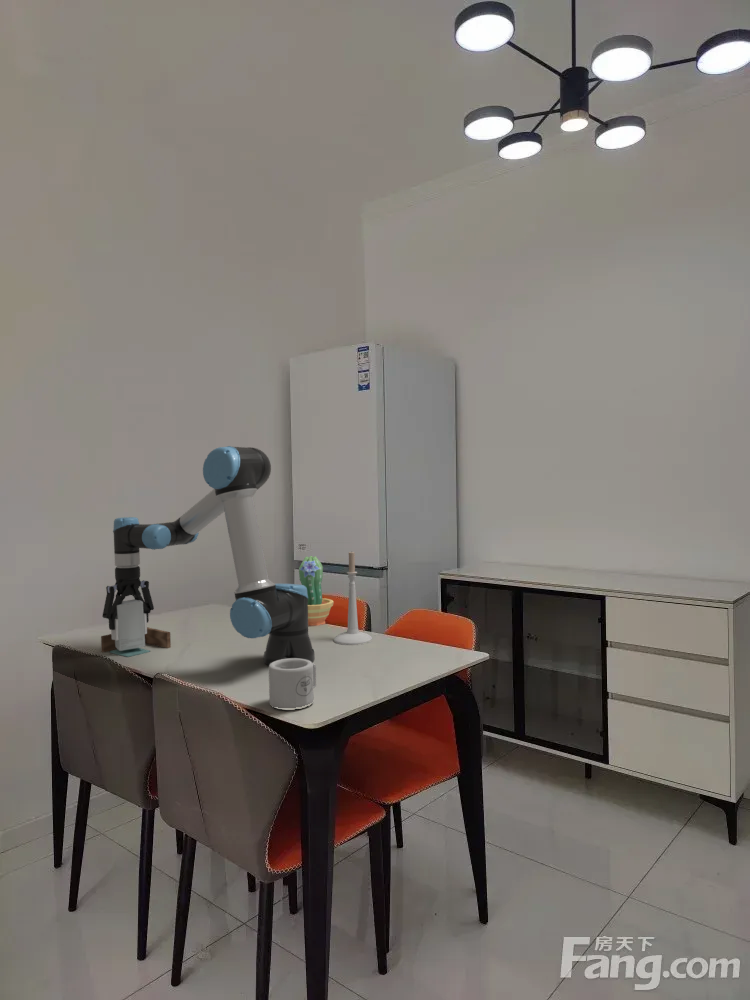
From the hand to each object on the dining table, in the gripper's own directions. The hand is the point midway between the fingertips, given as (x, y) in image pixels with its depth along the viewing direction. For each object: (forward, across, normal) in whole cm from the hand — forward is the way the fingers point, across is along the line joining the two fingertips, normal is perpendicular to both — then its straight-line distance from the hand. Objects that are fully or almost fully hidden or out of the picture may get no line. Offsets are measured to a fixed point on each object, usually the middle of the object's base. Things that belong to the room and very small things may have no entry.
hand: (129, 636), depth 220 cm
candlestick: (+5, -52, +49) cm, 72 cm away
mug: (+5, +4, +77) cm, 77 cm away
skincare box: (+4, 0, 0) cm, 4 cm away
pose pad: (+5, 0, 0) cm, 5 cm away
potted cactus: (+5, -64, +20) cm, 67 cm away
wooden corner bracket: (+5, -3, -1) cm, 6 cm away
